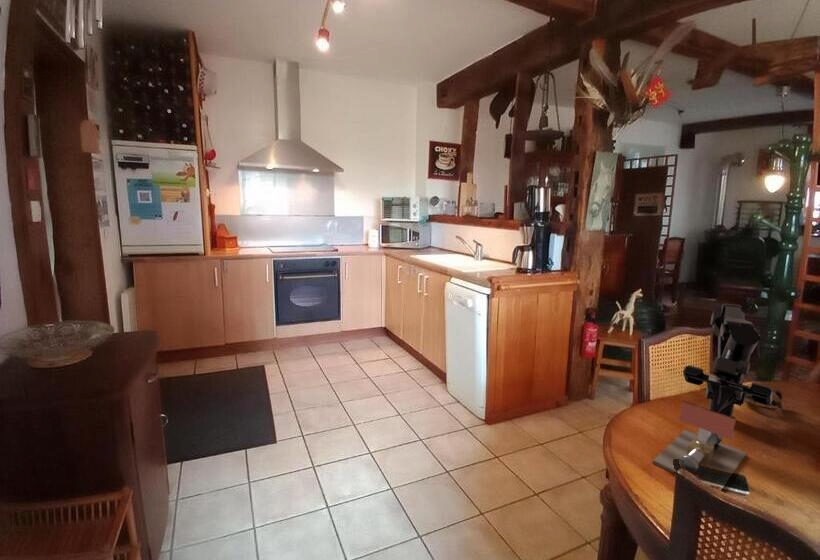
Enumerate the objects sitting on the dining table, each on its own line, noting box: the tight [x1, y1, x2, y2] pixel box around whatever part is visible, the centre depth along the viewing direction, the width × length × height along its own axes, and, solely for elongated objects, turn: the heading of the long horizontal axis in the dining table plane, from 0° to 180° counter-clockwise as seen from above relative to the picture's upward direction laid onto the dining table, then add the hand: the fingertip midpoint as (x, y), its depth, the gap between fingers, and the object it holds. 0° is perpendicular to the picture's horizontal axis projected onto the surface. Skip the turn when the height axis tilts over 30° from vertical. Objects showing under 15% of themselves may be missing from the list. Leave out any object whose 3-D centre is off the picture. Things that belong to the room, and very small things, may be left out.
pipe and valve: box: [679, 432, 723, 473], centre depth 105 cm, size 20×4×4 cm, turn 130°
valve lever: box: [678, 400, 737, 446], centre depth 104 cm, size 1×11×9 cm, turn 40°
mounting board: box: [652, 429, 747, 491], centre depth 106 cm, size 23×14×1 cm, turn 130°
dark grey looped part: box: [743, 388, 784, 418], centre depth 133 cm, size 12×10×8 cm
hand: (715, 412), depth 107 cm, fingers closed
